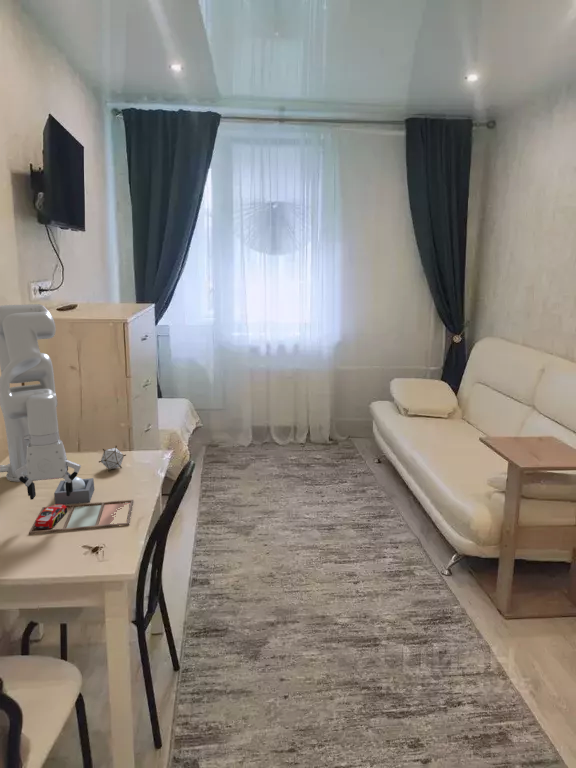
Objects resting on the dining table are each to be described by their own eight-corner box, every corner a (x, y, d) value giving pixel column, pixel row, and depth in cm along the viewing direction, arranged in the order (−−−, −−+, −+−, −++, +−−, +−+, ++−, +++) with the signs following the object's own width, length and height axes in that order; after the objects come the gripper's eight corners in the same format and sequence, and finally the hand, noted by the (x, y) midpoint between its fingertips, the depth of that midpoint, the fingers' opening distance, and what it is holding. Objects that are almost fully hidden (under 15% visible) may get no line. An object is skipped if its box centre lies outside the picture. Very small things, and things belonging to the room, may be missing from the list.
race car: (52, 510, 164) (51, 498, 163) (70, 510, 164) (69, 498, 163) (31, 531, 151) (30, 518, 150) (51, 531, 151) (49, 518, 150)
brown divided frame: (28, 534, 149) (28, 532, 149) (42, 509, 164) (42, 507, 164) (129, 525, 154) (129, 523, 154) (133, 501, 169) (133, 499, 169)
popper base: (55, 505, 167) (54, 493, 166) (61, 492, 176) (60, 480, 175) (89, 502, 169) (88, 490, 168) (94, 489, 178) (93, 478, 177)
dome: (62, 501, 169) (60, 482, 167) (66, 493, 175) (64, 474, 174) (84, 499, 170) (82, 480, 169) (87, 491, 176) (86, 473, 175)
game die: (108, 479, 196) (88, 460, 193) (120, 464, 203) (101, 445, 200) (123, 472, 191) (103, 452, 188) (135, 456, 198) (116, 436, 195)
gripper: (7, 444, 147) (14, 504, 150) (75, 439, 150) (80, 498, 153) (15, 437, 154) (22, 494, 157) (79, 432, 157) (85, 488, 161)
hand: (51, 496), depth 155 cm, fingers open, 9 cm apart
